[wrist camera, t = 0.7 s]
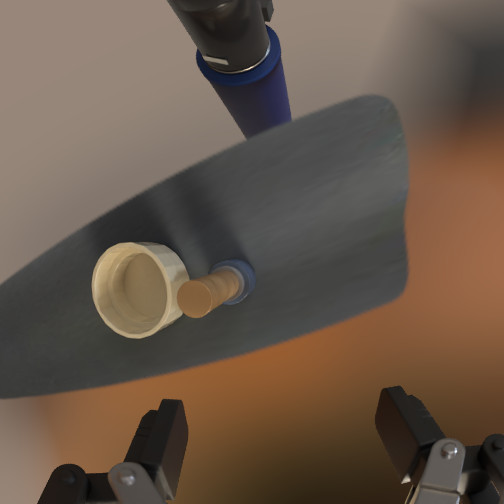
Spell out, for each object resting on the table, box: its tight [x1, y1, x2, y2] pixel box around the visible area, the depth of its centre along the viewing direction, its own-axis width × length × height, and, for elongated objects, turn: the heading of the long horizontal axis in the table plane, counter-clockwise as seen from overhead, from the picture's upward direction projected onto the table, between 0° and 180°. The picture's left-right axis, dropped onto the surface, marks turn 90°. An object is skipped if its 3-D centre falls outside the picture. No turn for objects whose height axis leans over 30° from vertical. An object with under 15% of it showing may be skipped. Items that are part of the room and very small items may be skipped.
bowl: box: [92, 242, 189, 338], centre depth 35 cm, size 11×11×6 cm
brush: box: [177, 259, 256, 318], centre depth 30 cm, size 5×5×14 cm
